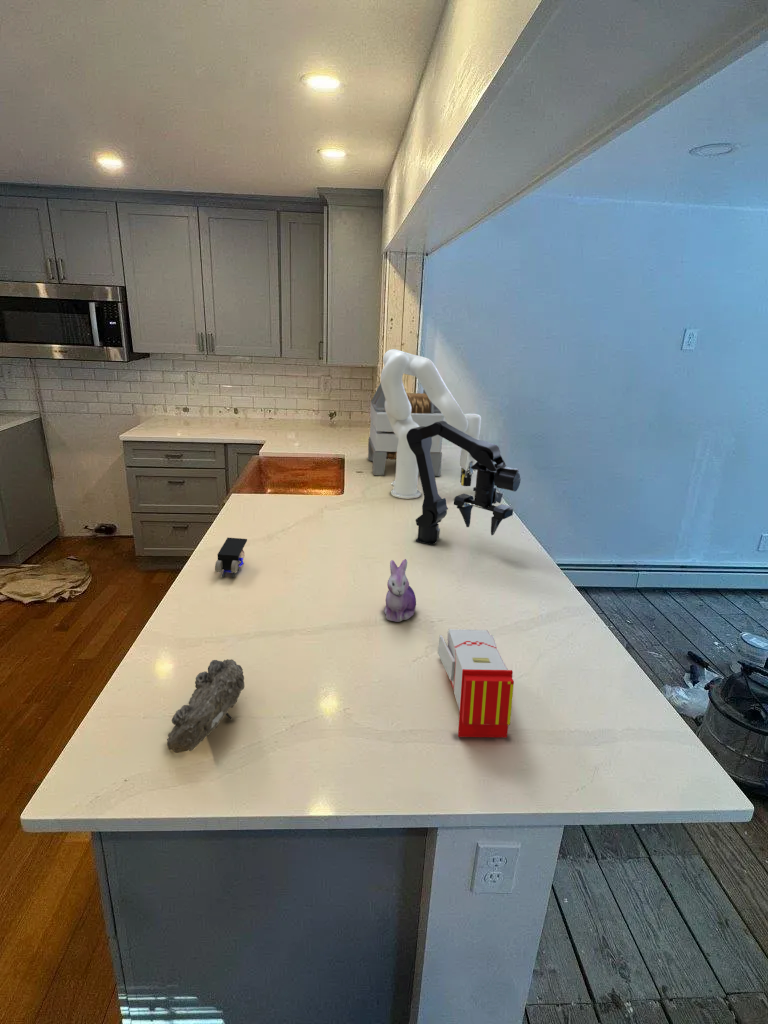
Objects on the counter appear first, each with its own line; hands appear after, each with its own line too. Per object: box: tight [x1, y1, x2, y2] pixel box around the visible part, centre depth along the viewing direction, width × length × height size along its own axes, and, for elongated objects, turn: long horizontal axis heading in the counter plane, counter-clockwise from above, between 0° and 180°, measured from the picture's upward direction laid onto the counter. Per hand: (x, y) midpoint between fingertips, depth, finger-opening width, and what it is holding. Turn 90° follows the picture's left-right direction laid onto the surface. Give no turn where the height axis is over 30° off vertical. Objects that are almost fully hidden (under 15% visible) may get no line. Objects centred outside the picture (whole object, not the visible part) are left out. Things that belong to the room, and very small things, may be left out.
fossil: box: [166, 658, 245, 754], centre depth 106 cm, size 22×10×15 cm
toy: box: [437, 628, 515, 738], centre depth 117 cm, size 12×13×30 cm
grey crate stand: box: [367, 382, 444, 477], centre depth 277 cm, size 34×33×41 cm
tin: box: [460, 474, 465, 487], centre depth 246 cm, size 4×4×5 cm
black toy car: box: [214, 537, 248, 578], centre depth 166 cm, size 7×8×15 cm
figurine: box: [384, 558, 417, 623], centre depth 145 cm, size 9×10×15 cm
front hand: (480, 530), depth 182 cm, fingers open, 9 cm apart
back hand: (465, 484), depth 247 cm, fingers closed on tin, 3 cm apart
